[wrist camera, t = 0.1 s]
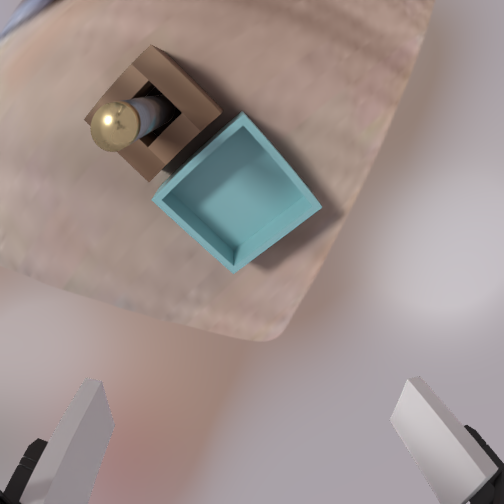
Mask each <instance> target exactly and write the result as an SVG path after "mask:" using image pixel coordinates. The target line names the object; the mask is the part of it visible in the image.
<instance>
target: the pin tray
mask: <svg viewBox="0 0 504 504" xmlns="http://www.w3.org/2000/svg"><path fill="white" fill-rule="evenodd" d="M152 201H153V202H154V203H155V204H156V205H157V206H159V207H160V208H161V209H162V210H163V211H164V212H165V213H166V214H167V215H168V216H169V217H171V218H172V219H173V220H174V221H175V222H176V223H177V224H178V225H179V226H180V227H181V228H183V229H184V230H185V231H186V232H187V233H188V234H189V235H190V236H191V237H193V238H194V239H195V240H196V241H197V242H198V243H199V244H200V245H201V246H203V247H204V248H205V249H206V250H207V251H208V252H209V253H210V254H211V255H213V256H214V257H215V258H216V259H217V260H218V261H219V262H220V263H222V264H223V265H224V266H225V267H226V268H227V269H228V270H230V271H231V272H232V273H233V274H234V273H236V272H237V271H238V270H240V269H241V268H242V267H244V266H245V265H246V264H248V263H249V262H250V261H252V260H253V259H254V258H256V257H257V256H258V255H260V254H261V253H262V252H264V251H265V250H266V249H268V248H269V247H270V246H272V245H273V244H274V243H276V242H277V241H278V240H280V239H281V238H282V237H284V236H285V235H286V234H288V233H289V232H290V231H292V230H293V229H294V228H296V227H297V226H298V225H300V224H301V223H302V222H304V221H305V220H306V219H308V218H309V217H310V216H312V215H313V214H314V213H316V212H317V211H318V210H320V209H321V208H322V206H321V204H320V203H319V201H318V200H317V199H316V197H315V196H314V194H313V193H312V192H311V190H310V189H309V188H308V186H307V185H306V184H305V183H304V181H303V180H302V179H301V178H300V177H299V175H298V174H297V173H296V172H295V170H294V169H293V168H292V167H291V166H290V164H289V163H288V162H287V161H286V160H285V158H284V157H283V156H282V155H281V154H280V152H279V151H278V150H277V149H276V148H275V147H274V145H273V144H272V143H271V142H270V141H269V140H268V139H267V137H266V136H265V135H264V134H263V133H262V132H261V131H260V129H259V128H258V127H257V126H256V125H255V124H254V123H253V122H252V121H251V119H250V118H249V117H248V116H247V115H246V114H245V113H244V112H243V111H242V112H241V113H239V114H238V115H237V116H236V117H235V118H233V119H232V120H231V121H230V122H229V123H227V124H226V125H225V126H224V127H223V128H222V129H220V130H219V131H218V132H217V133H216V134H215V135H214V136H212V137H211V138H210V139H209V140H208V141H207V142H206V143H205V144H204V145H202V146H201V147H200V148H199V149H198V150H197V151H196V152H195V153H194V154H193V155H192V156H191V157H190V158H188V159H187V160H186V161H185V162H184V163H183V164H182V165H181V166H180V167H179V168H178V169H177V170H176V171H175V172H174V173H173V174H172V175H171V176H170V177H169V178H168V179H167V180H166V181H165V182H164V183H163V184H162V185H161V186H160V187H159V189H158V190H157V192H156V193H155V195H154V196H153V198H152Z"/></svg>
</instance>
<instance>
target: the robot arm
mask: <svg viewBox="0 0 504 504" xmlns="http://www.w3.org/2000/svg"><path fill="white" fill-rule="evenodd" d="M390 422H391V424H392V425H393V427H394V429H395V430H396V432H397V433H398V435H399V437H400V438H401V440H402V441H403V443H404V444H405V446H406V448H407V449H408V451H409V453H410V454H411V456H412V457H413V459H414V461H415V462H416V464H417V465H418V467H419V469H420V470H421V472H422V473H423V475H424V477H425V479H426V480H427V482H428V484H429V485H430V487H431V489H432V490H433V492H434V493H435V495H436V497H437V498H438V500H439V502H440V503H441V504H466V503H467V502H468V501H470V503H471V504H504V463H503V462H502V461H501V460H500V459H499V458H498V456H497V455H496V454H495V453H494V451H493V450H492V449H491V448H490V447H489V445H486V442H485V441H484V440H483V439H482V437H481V436H480V435H479V434H478V433H477V431H476V430H474V429H473V428H471V427H469V426H468V425H465V426H463V425H462V424H461V423H460V421H459V420H458V419H457V418H456V417H455V416H454V414H453V413H452V412H451V411H450V410H449V409H448V407H447V406H446V405H445V404H444V403H443V402H442V401H441V400H440V398H439V397H438V396H437V395H436V394H435V393H434V391H433V390H432V389H431V388H430V387H429V386H428V385H427V384H426V383H425V381H424V380H423V379H422V378H421V377H420V376H419V377H414V378H410V379H407V381H406V384H405V386H404V389H403V392H402V394H401V396H400V398H399V401H398V403H397V405H396V407H395V410H394V412H393V414H392V416H391V418H390ZM114 427H115V424H114V421H113V418H112V415H111V411H110V408H109V405H108V402H107V398H106V395H105V391H104V387H103V383H102V381H100V380H95V379H90V378H85V380H84V382H83V383H82V385H81V386H80V388H79V390H78V391H77V393H76V395H75V396H74V398H73V400H72V402H71V403H70V405H69V406H68V408H67V410H66V412H65V413H64V415H63V417H62V419H61V420H60V422H59V424H58V426H57V427H56V429H55V431H54V433H53V435H52V436H51V438H50V440H49V442H46V441H44V440H41V439H39V438H38V439H37V440H36V441H34V442H33V443H32V444H31V445H29V446H28V448H27V450H26V452H25V454H24V455H23V456H24V457H23V458H22V459H21V461H20V463H19V465H18V466H17V468H16V470H15V472H14V474H13V475H12V478H11V479H10V481H9V483H8V485H7V487H6V489H5V491H4V492H3V493H2V491H1V490H0V504H88V501H89V498H90V495H91V492H92V489H93V486H94V483H95V480H96V477H97V474H98V471H99V468H100V465H101V462H102V459H103V457H104V454H105V451H106V448H107V446H108V443H109V440H110V437H111V435H112V432H113V429H114Z"/></svg>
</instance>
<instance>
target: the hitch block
mask: <svg viewBox="0 0 504 504" xmlns="http://www.w3.org/2000/svg"><path fill="white" fill-rule="evenodd" d="M154 87H156V88H157V89H158V90H159V91H160V92H161V93H163V94H164V95H165V96H166V97H167V98H168V99H169V100H170V101H171V102H172V103H173V104H174V105H175V106H176V107H177V108H178V109H179V110H180V111H181V112H182V114H181V115H180V116H179V117H178V118H176V119H175V120H174V121H173V122H172V123H171V124H170V125H169V126H168V127H167V128H166V129H165V130H164V131H163V132H162V133H161V134H160V135H159V136H158V137H157V136H156V135H155V134H154V133H153V132H152V131H151V132H150V133H148V134H146V135H145V136H143V137H141V138H140V139H138V140H137V141H135V142H133V143H132V144H130V145H129V146H127V147H125V148H124V149H122V150H120V151H117V152H118V153H119V154H120V155H121V156H122V157H123V158H124V159H125V160H126V161H127V162H128V163H129V164H130V165H131V166H132V167H133V168H134V169H135V170H137V171H138V172H139V173H140V174H141V175H142V176H143V177H144V178H145V179H146V180H147V181H148V182H150V181H151V180H152V179H153V178H154V177H155V176H156V175H157V174H158V173H159V172H160V171H161V170H162V169H163V168H164V167H165V166H166V165H167V164H168V163H169V162H170V161H171V160H172V159H173V158H174V157H175V156H176V155H177V154H178V153H179V152H180V151H181V150H182V149H183V148H184V147H185V146H186V145H187V144H188V143H189V142H190V141H191V140H192V139H193V138H195V137H196V136H197V135H198V134H199V133H200V132H201V131H202V130H203V129H204V128H205V127H207V126H208V125H209V124H210V123H211V122H212V121H213V120H214V119H216V118H217V117H218V116H219V115H220V114H221V113H222V111H223V109H222V108H221V107H220V106H219V105H218V104H217V103H216V102H215V101H214V100H213V99H212V98H211V97H210V96H209V95H208V94H207V93H206V92H205V91H204V90H203V89H202V88H201V87H200V86H199V85H198V84H197V83H196V82H195V81H194V80H193V79H192V78H191V77H190V76H189V75H188V74H187V73H186V72H185V71H184V70H183V69H182V68H181V67H180V66H179V65H178V64H177V63H176V62H175V61H173V60H172V59H171V58H170V57H169V56H168V55H167V54H166V53H165V52H164V51H163V50H161V49H159V48H157V47H155V46H153V45H150V46H149V47H148V48H147V49H146V50H145V51H144V52H143V53H142V54H141V55H140V56H139V57H138V58H137V59H136V60H135V61H134V62H133V63H132V64H131V65H130V66H129V67H128V68H127V69H126V70H125V71H124V72H123V73H122V75H121V76H120V77H119V78H118V79H117V80H116V81H115V82H114V83H113V85H112V86H111V87H110V88H109V89H108V90H107V92H106V93H105V94H104V95H103V96H102V98H101V99H100V100H99V101H98V102H97V104H96V105H95V106H94V107H93V109H92V110H91V111H90V113H89V114H88V115H87V116H86V118H85V119H84V120H85V121H86V122H87V123H88V124H89V125H90V126H91V121H92V118H93V116H94V114H95V113H96V111H97V110H98V109H99V108H100V107H102V106H103V105H105V104H108V103H111V102H117V101H122V100H128V99H134V98H141V97H145V96H146V95H147V94H148V93H149V92H150V91H151V90H152V89H153V88H154Z"/></svg>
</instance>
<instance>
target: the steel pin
mask: <svg viewBox="0 0 504 504" xmlns="http://www.w3.org/2000/svg"><path fill="white" fill-rule="evenodd" d="M174 113H175V105H174V104H173V103H172V102H171V101H170V100H169V99H168V98H167V97H166V96H165V95H156V96H148V97H141V98H134V99H128V100H122V101H117V102H111V103H108V104H105V105H103V106H102V107H100V108H99V109H98V110H97V111H96V113H95V114H94V116H93V118H92V121H91V135H92V138H93V140H94V142H95V143H96V144H97V145H98V146H99V147H100V148H101V149H103V150H105V151H110V152H115V151H120V150H122V149H124V148H125V147H127V146H129V145H130V144H132V143H133V142H135V141H137V140H138V139H140V138H141V137H143V136H145V135H146V134H148V133H150V132H151V131H153V130H155V129H157V128H158V127H160V126H162V125H164V124H165V123H167V122H169V121H170V120H171V119H172V117H173V116H174Z"/></svg>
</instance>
